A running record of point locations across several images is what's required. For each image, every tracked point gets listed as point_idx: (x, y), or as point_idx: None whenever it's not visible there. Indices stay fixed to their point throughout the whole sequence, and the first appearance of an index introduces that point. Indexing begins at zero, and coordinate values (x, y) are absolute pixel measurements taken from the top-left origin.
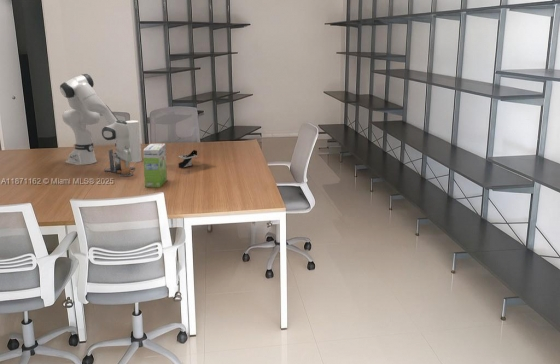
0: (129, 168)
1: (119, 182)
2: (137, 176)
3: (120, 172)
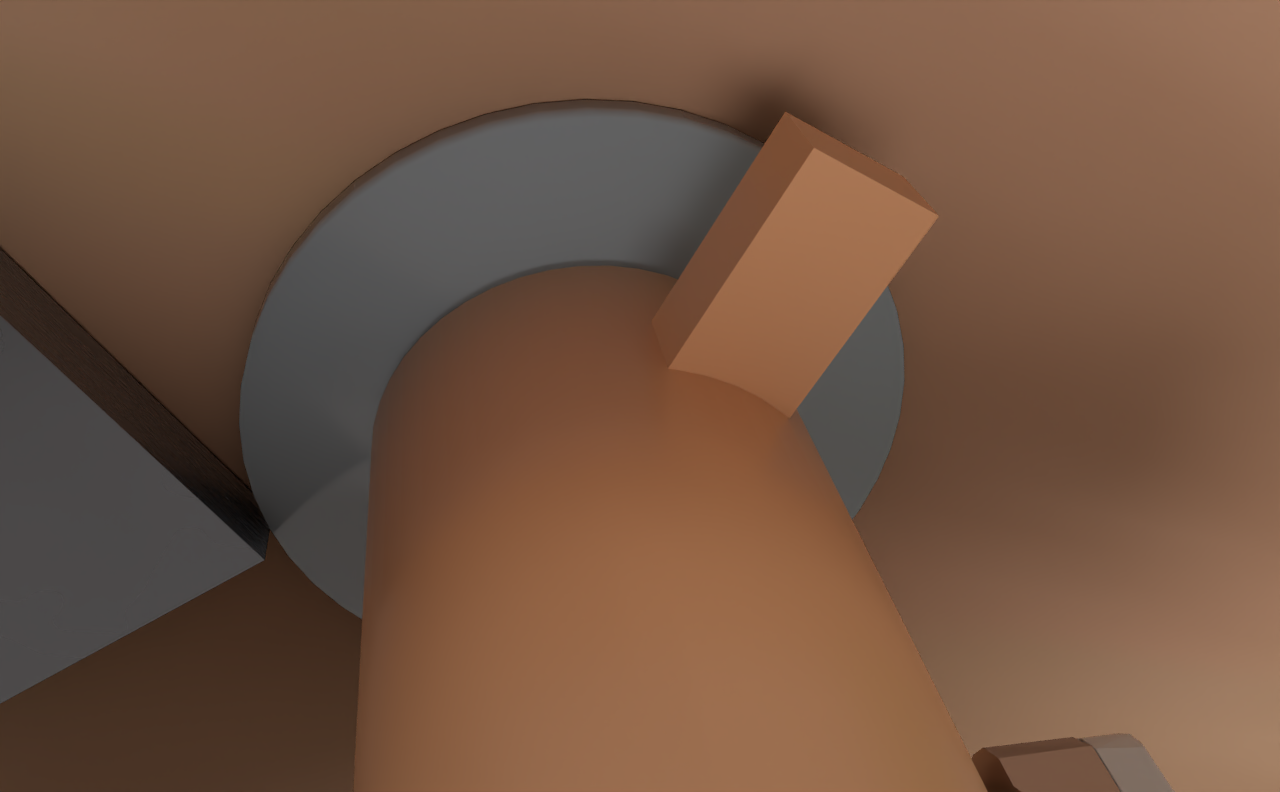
0: (821, 498)
1: (1259, 743)
2: (1183, 53)
3: (200, 591)
